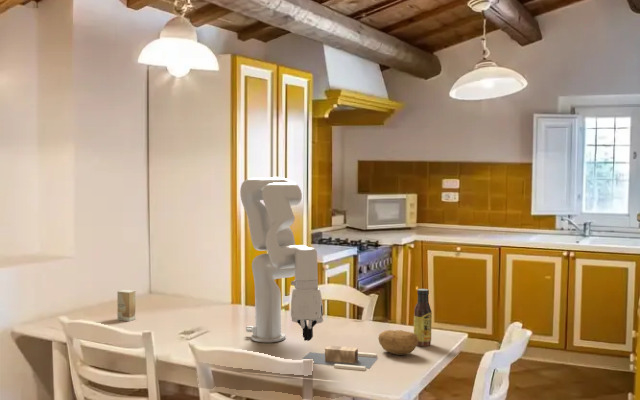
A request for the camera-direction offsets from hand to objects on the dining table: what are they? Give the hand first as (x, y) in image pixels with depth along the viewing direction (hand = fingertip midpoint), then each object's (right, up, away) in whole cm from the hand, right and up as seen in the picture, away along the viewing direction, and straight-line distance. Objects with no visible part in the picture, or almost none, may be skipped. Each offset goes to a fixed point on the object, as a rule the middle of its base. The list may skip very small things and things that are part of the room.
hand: (307, 339), depth 234 cm
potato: (+31, -6, +6) cm, 32 cm away
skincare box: (-76, -4, +59) cm, 96 cm away
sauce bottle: (+41, -5, +17) cm, 45 cm away
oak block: (+6, -4, -1) cm, 8 cm away
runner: (+10, -7, -2) cm, 12 cm away
